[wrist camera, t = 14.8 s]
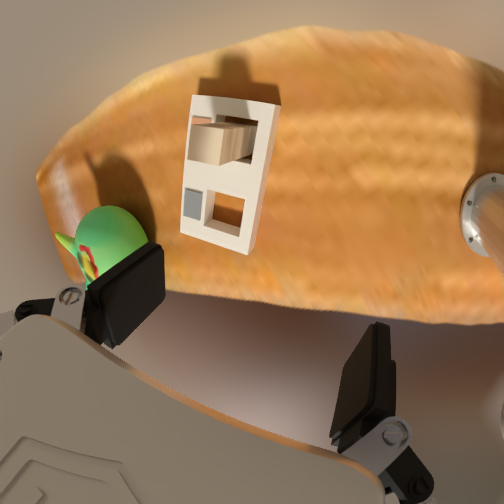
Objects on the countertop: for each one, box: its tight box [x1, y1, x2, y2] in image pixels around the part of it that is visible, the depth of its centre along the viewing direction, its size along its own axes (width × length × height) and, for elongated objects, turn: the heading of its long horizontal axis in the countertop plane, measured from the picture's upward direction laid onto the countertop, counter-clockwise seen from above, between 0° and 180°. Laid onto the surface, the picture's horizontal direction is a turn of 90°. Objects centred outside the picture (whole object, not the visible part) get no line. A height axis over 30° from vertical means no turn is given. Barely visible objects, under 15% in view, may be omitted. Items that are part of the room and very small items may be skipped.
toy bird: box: [55, 205, 148, 290], centre depth 47 cm, size 18×17×15 cm
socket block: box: [180, 95, 281, 255], centre depth 38 cm, size 12×22×3 cm, turn 170°
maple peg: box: [187, 122, 258, 166], centre depth 31 cm, size 4×4×11 cm
